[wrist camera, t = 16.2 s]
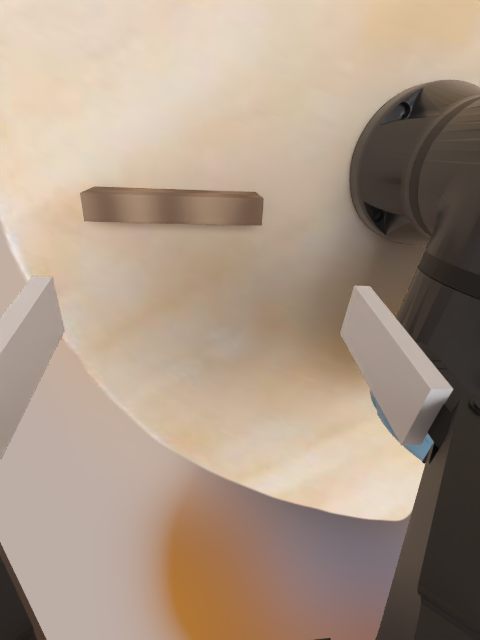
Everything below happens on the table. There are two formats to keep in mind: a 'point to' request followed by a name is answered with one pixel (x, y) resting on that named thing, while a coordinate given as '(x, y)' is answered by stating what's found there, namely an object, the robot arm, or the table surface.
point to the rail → (171, 206)
